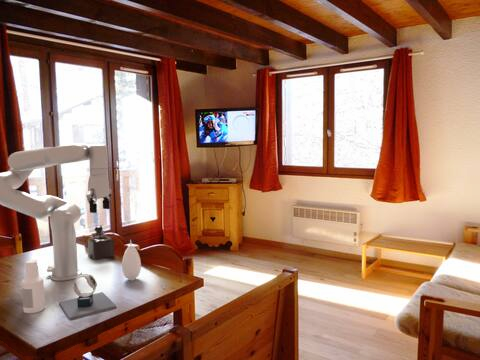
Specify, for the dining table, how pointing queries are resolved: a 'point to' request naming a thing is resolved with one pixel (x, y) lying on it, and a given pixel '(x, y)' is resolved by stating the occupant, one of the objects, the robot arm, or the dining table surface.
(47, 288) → the dining table surface
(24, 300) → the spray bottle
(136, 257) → the white eggplant
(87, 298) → the watch
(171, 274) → the dining table surface
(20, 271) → the dining table surface
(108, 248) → the coffee grinder
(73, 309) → the mat
